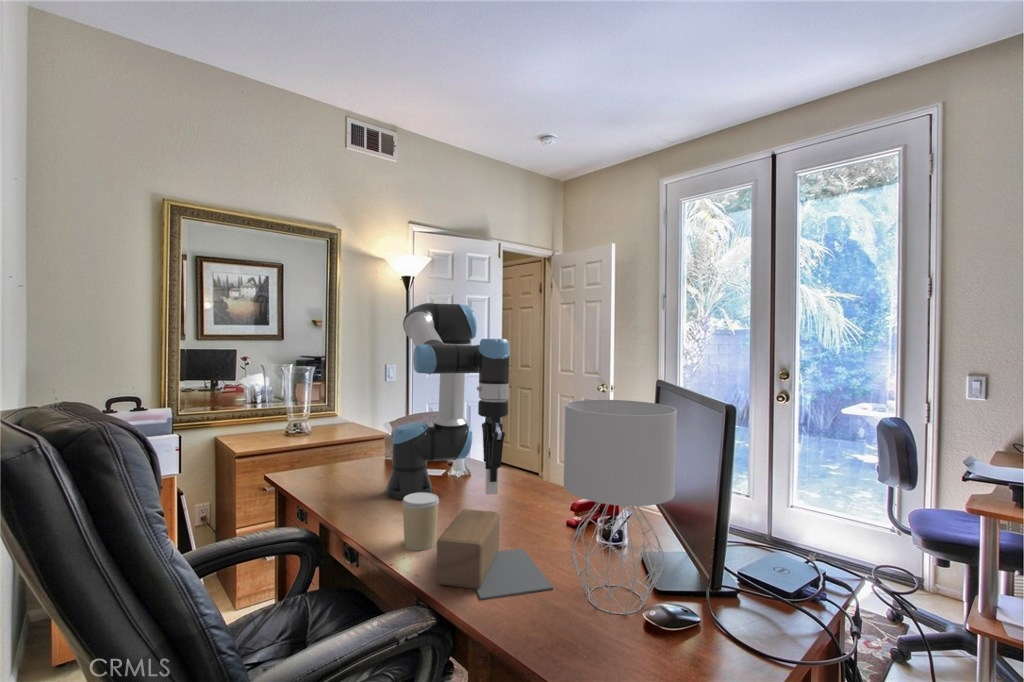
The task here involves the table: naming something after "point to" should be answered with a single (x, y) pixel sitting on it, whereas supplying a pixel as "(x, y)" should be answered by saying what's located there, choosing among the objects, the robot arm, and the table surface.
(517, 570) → the mat
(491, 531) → the block
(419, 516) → the coffee cup
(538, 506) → the table surface
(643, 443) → the table lamp
